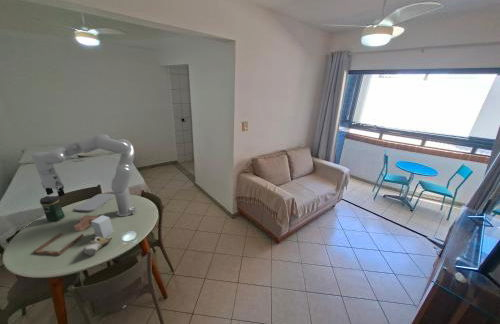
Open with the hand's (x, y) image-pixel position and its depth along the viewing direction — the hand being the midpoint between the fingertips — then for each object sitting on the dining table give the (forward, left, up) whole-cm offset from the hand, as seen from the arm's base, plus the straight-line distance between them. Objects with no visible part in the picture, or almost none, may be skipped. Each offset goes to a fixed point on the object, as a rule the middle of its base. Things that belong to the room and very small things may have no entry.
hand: (56, 194), depth 127 cm
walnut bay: (-11, +15, -26) cm, 32 cm away
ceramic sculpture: (-36, +17, -26) cm, 48 cm away
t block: (-11, -4, -26) cm, 28 cm away
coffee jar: (+17, -8, -26) cm, 32 cm away
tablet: (+5, -31, -27) cm, 41 cm away
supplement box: (-32, +5, -26) cm, 41 cm away
